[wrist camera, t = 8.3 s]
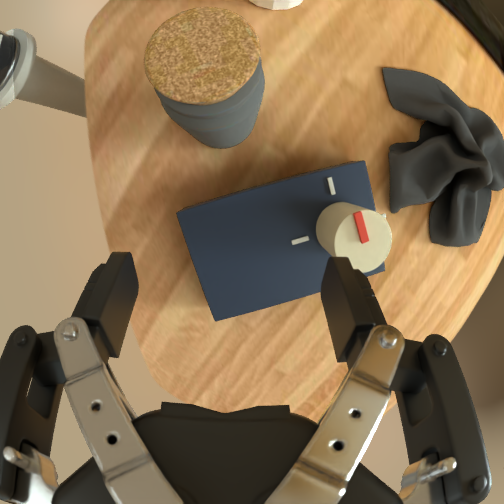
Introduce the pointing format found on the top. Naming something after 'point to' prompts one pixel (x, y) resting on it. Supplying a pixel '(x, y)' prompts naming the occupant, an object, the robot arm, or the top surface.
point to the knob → (354, 235)
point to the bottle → (208, 74)
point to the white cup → (276, 4)
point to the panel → (268, 238)
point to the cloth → (444, 158)
